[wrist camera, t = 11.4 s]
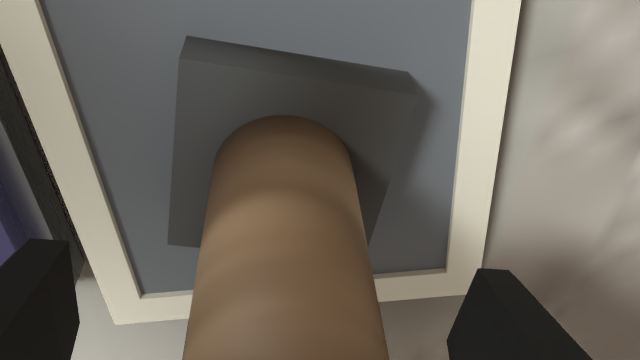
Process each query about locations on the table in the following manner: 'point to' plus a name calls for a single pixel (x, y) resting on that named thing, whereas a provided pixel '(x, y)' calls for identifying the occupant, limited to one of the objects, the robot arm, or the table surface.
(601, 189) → the table surface
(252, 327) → the stamp
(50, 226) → the ink pad
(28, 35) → the marked square
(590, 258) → the table surface
